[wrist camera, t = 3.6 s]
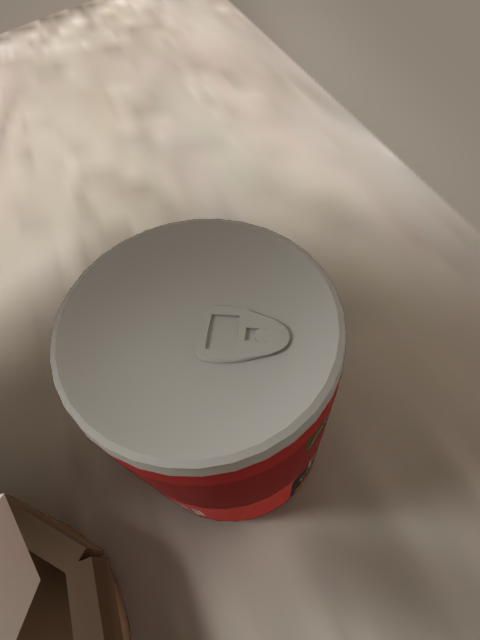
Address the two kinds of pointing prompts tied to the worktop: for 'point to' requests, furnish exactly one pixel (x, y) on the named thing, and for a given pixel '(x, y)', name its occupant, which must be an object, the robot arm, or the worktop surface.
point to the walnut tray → (56, 605)
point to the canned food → (204, 362)
